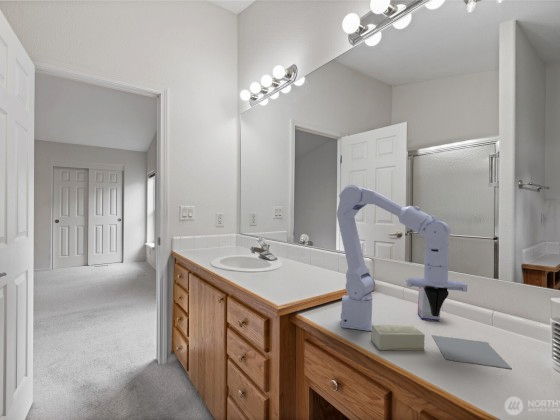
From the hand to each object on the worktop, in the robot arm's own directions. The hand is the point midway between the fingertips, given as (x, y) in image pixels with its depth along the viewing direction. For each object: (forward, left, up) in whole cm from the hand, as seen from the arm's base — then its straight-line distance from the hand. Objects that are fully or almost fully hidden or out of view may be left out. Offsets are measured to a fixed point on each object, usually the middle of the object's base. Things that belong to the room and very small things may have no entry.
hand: (434, 315), depth 79 cm
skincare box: (-4, -1, -6) cm, 7 cm away
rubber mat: (+8, 0, -8) cm, 12 cm away
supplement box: (+3, +23, -9) cm, 25 cm away
